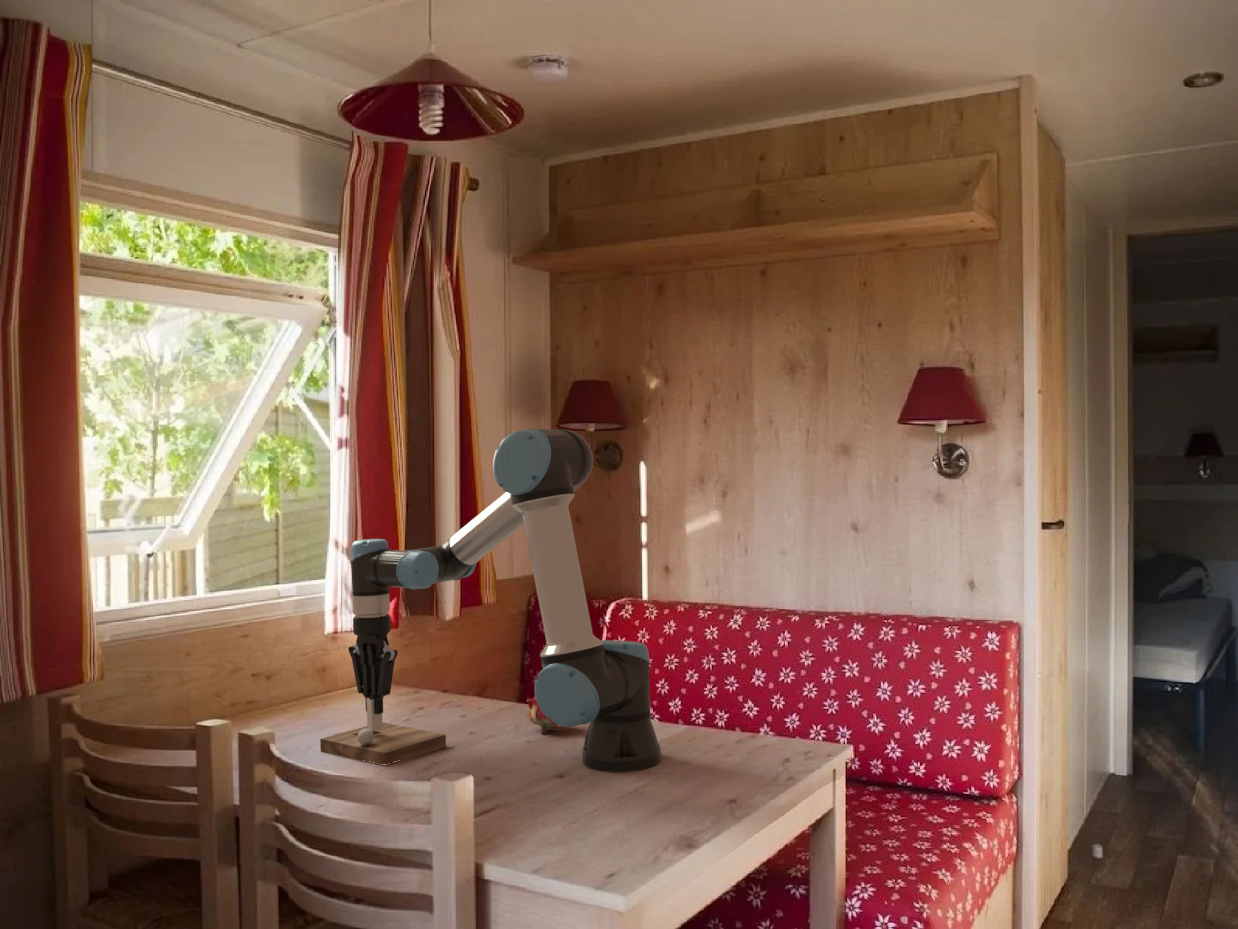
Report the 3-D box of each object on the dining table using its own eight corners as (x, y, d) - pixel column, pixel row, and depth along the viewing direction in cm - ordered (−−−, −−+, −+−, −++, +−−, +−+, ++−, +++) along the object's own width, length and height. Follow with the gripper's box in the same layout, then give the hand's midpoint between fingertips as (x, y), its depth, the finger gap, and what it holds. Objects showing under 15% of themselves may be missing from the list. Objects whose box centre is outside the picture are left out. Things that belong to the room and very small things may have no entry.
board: (446, 747, 227) (445, 734, 226) (385, 765, 214) (384, 753, 214) (381, 733, 239) (381, 722, 239) (320, 751, 226) (320, 738, 226)
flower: (564, 730, 231) (570, 694, 235) (520, 722, 231) (528, 686, 235) (562, 746, 239) (568, 711, 243) (520, 738, 239) (527, 703, 243)
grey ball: (377, 744, 221) (377, 728, 221) (364, 747, 218) (364, 731, 218) (367, 742, 223) (366, 726, 223) (354, 745, 220) (353, 729, 220)
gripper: (406, 614, 226) (410, 729, 227) (365, 610, 234) (368, 721, 235) (377, 619, 220) (381, 737, 221) (336, 615, 229) (340, 728, 229)
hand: (375, 729), depth 228 cm, fingers closed
